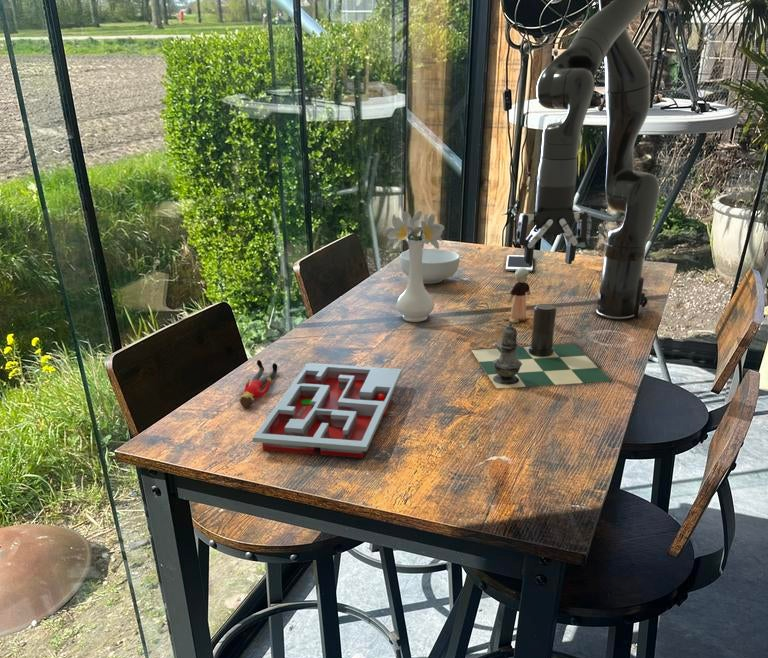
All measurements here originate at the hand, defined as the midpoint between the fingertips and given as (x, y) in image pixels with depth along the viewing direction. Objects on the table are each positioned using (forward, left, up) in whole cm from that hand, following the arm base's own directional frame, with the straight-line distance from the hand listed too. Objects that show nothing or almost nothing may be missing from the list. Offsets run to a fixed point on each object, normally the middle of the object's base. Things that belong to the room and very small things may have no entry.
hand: (548, 264), depth 167 cm
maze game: (+48, +27, -19) cm, 58 cm away
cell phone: (-17, -72, -19) cm, 77 cm away
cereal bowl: (+13, -60, -19) cm, 65 cm away
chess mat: (+3, +8, -19) cm, 21 cm away
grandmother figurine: (-2, -22, -19) cm, 30 cm away
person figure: (+62, +12, -19) cm, 66 cm away
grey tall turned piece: (+12, +15, -19) cm, 27 cm away
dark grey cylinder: (0, +1, -19) cm, 19 cm away
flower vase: (+23, -28, -19) cm, 41 cm away
